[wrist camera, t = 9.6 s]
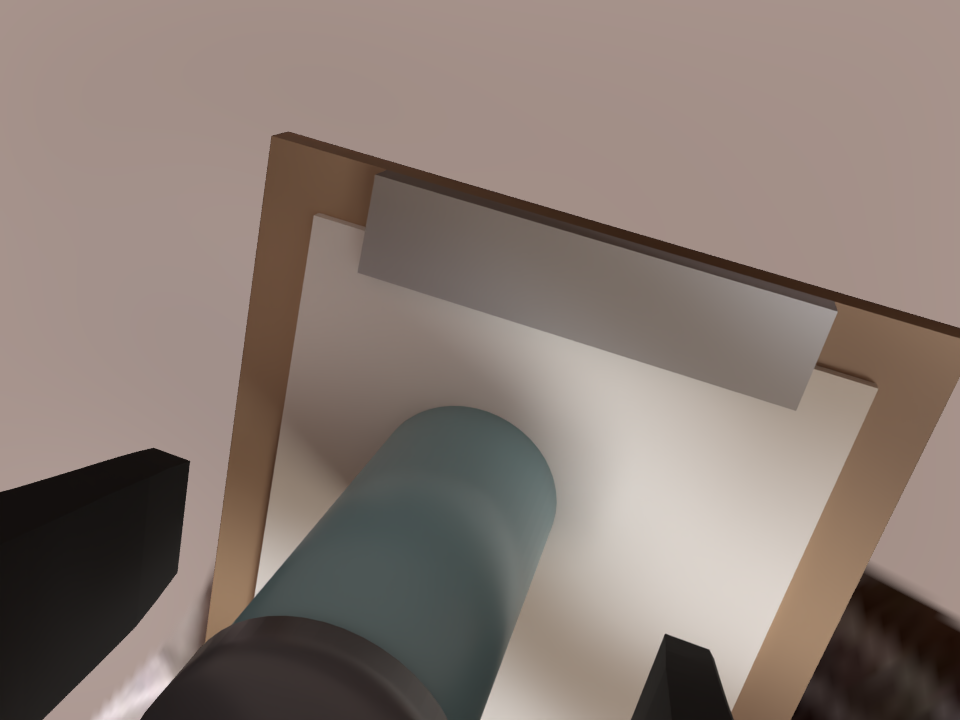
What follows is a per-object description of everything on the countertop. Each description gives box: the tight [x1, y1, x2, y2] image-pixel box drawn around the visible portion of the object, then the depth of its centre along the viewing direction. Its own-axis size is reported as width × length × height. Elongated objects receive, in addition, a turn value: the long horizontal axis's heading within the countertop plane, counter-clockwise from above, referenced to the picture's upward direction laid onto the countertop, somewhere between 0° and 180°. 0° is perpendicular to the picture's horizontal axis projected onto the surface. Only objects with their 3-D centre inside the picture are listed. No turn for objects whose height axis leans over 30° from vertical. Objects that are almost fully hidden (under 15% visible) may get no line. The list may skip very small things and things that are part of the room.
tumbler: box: [141, 406, 557, 720], centre depth 12 cm, size 3×3×7 cm
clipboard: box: [205, 132, 960, 720], centre depth 16 cm, size 14×11×1 cm
